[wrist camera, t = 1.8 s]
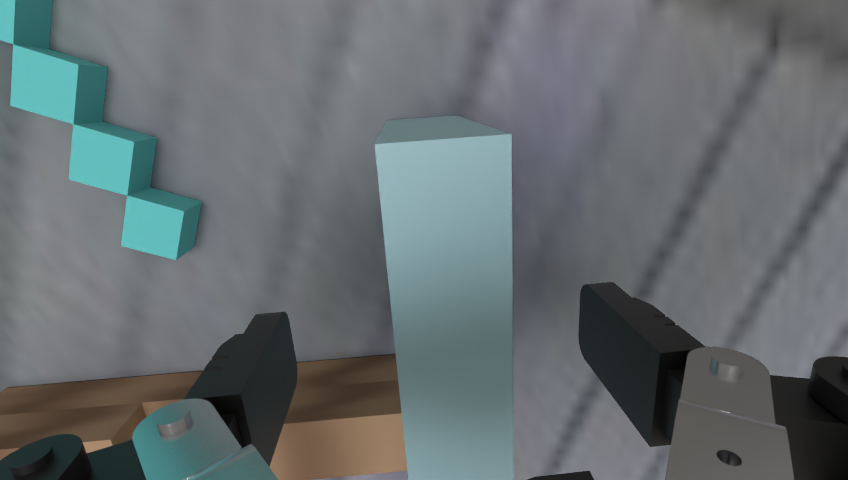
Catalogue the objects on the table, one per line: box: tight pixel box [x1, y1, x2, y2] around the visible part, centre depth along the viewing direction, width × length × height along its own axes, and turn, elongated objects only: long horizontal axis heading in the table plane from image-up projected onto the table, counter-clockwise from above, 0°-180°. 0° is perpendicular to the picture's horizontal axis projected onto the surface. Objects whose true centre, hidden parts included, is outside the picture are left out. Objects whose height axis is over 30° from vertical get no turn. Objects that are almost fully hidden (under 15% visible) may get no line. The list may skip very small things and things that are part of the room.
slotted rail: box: [0, 354, 407, 480], centre depth 21 cm, size 20×3×4 cm, turn 94°
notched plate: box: [375, 115, 514, 480], centre depth 16 cm, size 3×10×10 cm, turn 4°
